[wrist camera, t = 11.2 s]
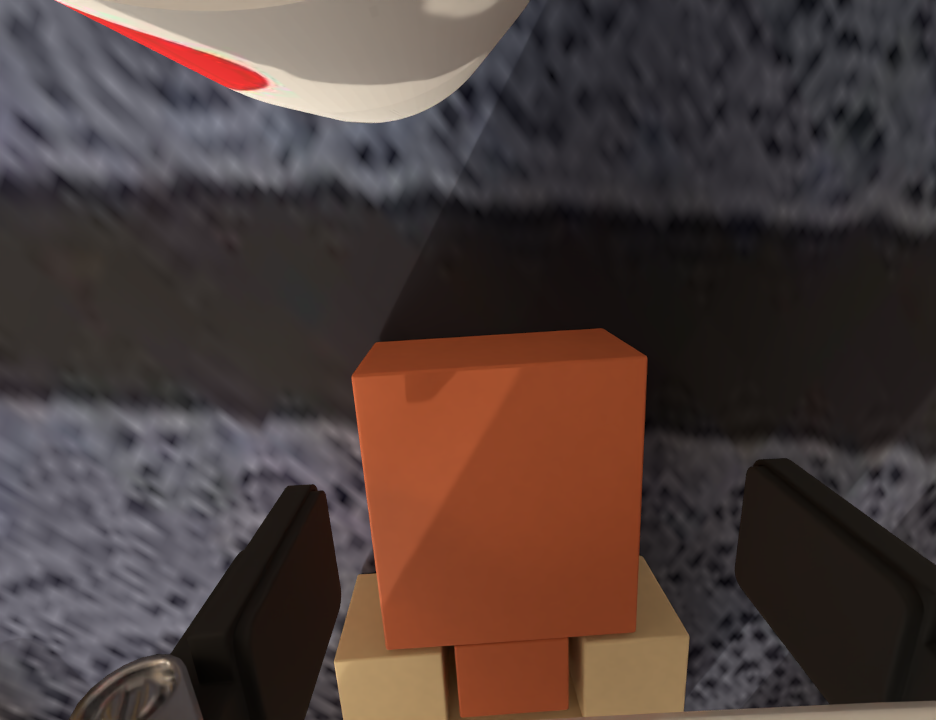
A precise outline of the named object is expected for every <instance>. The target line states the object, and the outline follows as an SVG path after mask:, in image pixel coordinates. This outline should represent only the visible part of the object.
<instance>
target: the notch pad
mask: <svg viewBox="0 0 936 720" xmlns="http://www.w3.org/2000/svg"><path fill="white" fill-rule="evenodd" d="M568 638H569V708H568V709H567V710H559V711H545V712H531V713H518V714H504V715H491V716H477V717H463V718H462V717H461V716H460V712H459V699H458V687H457V674H456V662H455V649H454V645H452V646H438V647H424V648H410V649H396V650H387V649H386V646H385V638H384V630H383V622H382V614H381V606H380V598H379V590H378V582H377V574H376V573H373V574H359V575H358V577H357V581H356V584H355V588H354V591H353V595H352V599H351V602H350V606H349V609H348V613H347V617H346V620H345V624H344V627H343V631H342V634H341V638H340V642H339V645H338V649H337V652H336V656H335V659H334V665H335V671H336V677H337V683H338V689H339V696H340V702H341V708H342V714H343V720H540V719H559V718H577V717H595V716H614V715H632V714H651V713H670V712H684V700H685V688H686V676H687V663H688V651H689V634H688V633H687V631H686V629H685V628H684V626H683V624H682V622H681V621H680V619H679V617H678V616H677V614H676V612H675V610H674V609H673V607H672V605H671V604H670V602H669V600H668V599H667V597H666V595H665V593H664V592H663V590H662V588H661V587H660V585H659V583H658V582H657V580H656V578H655V576H654V575H653V573H652V571H651V570H650V568H649V566H648V564H647V563H646V561H645V559H644V558H643V557H642V556H639V570H638V594H637V617H636V631H635V632H634V633H620V634H606V635H592V636H578V637H568Z"/></svg>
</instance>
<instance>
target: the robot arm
mask: <svg viewBox="0 0 936 720" xmlns="http://www.w3.org/2000/svg"><path fill="white" fill-rule="evenodd" d="M735 575H736V579H737V582H738V584H739V586H740V587H741V589H742V590H743V591H744V593H745V594H746V595H747V597H748V598H749V599H750V601H751V602H752V603H753V604H754V606H755V607H756V608H757V610H758V611H759V612H760V614H761V615H762V616H763V618H764V619H765V620H766V622H767V623H768V624H769V625H770V627H771V628H772V629H773V631H774V632H775V633H776V635H777V636H778V637H779V639H780V640H781V641H782V642H783V644H784V645H785V646H786V648H787V649H788V650H789V652H790V653H791V654H792V656H793V657H794V658H795V660H796V661H797V662H798V663H799V665H800V666H801V667H802V669H803V670H804V671H805V673H806V674H807V675H808V677H809V678H810V679H811V681H812V682H813V683H814V684H815V686H816V687H817V688H818V690H819V691H820V692H821V694H822V695H823V696H824V698H825V699H826V700H827V702H828V703H829V704H830V705H813V706H792V707H771V708H749V709H728V710H709V711H689V712H670V713H651V714H632V715H614V716H595V717H577V718H559V719H540V720H936V565H935V564H933V563H932V562H930V561H929V560H928V559H926V558H925V557H923V556H922V555H921V554H919V553H918V552H917V551H915V550H914V549H912V548H911V547H910V546H908V545H907V544H906V543H904V542H903V541H901V540H900V539H899V538H897V537H896V536H894V535H893V534H892V533H890V532H889V531H888V530H886V529H885V528H883V527H882V526H881V525H879V524H878V523H877V522H875V521H874V520H872V519H871V518H870V517H868V516H867V515H865V514H864V513H863V512H861V511H860V510H859V509H857V508H856V507H854V506H853V505H852V504H850V503H849V502H848V501H846V500H845V499H843V498H842V497H841V496H839V495H838V494H836V493H835V492H834V491H832V490H831V489H830V488H828V487H827V486H825V485H824V484H823V483H821V482H820V481H819V480H817V479H816V478H814V477H813V476H812V475H810V474H809V473H807V472H806V471H805V470H803V469H802V468H801V467H799V466H798V465H796V464H795V463H794V462H792V461H791V460H789V459H787V458H780V459H762V460H757V461H756V462H755V464H754V465H753V467H750V468H749V469H748V470H747V473H746V481H745V489H744V497H743V505H742V514H741V522H740V530H739V538H738V546H737V555H736V563H735ZM340 603H341V588H340V581H339V575H338V569H337V562H336V556H335V550H334V543H333V537H332V531H331V525H330V518H329V512H328V506H327V499H326V494H325V492H324V491H318V490H317V488H316V486H315V485H314V484H312V485H294V486H287V487H286V488H285V490H284V491H283V493H282V494H281V496H280V497H279V499H278V500H277V502H276V503H275V505H274V506H273V508H272V509H271V511H270V512H269V514H268V515H267V517H266V518H265V520H264V521H263V523H262V524H261V526H260V527H259V529H258V530H257V532H256V533H255V535H254V536H253V538H252V539H251V541H250V543H249V544H248V546H247V547H246V549H245V550H243V551H241V552H240V553H239V554H238V555H237V556H236V558H235V559H234V561H233V562H232V564H231V565H230V567H229V568H228V570H227V571H226V573H225V574H224V576H223V577H222V579H221V580H220V581H219V583H218V584H217V586H216V587H215V589H214V590H213V592H212V593H211V595H210V596H209V598H208V599H207V601H206V602H205V604H204V605H203V607H202V608H201V610H200V611H199V613H198V614H197V615H196V617H195V618H194V620H193V621H192V623H191V624H190V626H189V627H188V629H187V630H186V632H185V633H184V635H183V636H182V638H181V639H180V641H179V642H178V644H177V645H176V647H175V648H174V650H173V651H172V652H171V654H156V655H151V656H147V657H143V658H140V659H137V660H135V661H133V662H130V663H128V664H126V665H123V666H122V667H120V668H119V669H117V670H115V671H114V672H112V673H110V674H109V675H107V676H106V677H105V678H103V679H102V680H101V681H100V682H99V683H97V684H96V685H95V686H94V687H92V688H91V689H90V690H89V691H88V693H87V694H86V695H85V696H84V697H83V698H82V699H81V701H80V702H79V703H78V704H77V706H76V708H75V709H74V711H73V713H72V715H71V716H70V718H69V720H304V719H305V716H306V713H307V710H308V706H309V703H310V700H311V697H312V694H313V691H314V688H315V684H316V681H317V678H318V675H319V672H320V669H321V666H322V662H323V659H324V656H325V653H326V650H327V647H328V643H329V640H330V637H331V634H332V631H333V628H334V625H335V621H336V618H337V615H338V612H339V609H340Z"/></svg>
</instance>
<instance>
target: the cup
mask: <svg viewBox="0 0 936 720" xmlns="http://www.w3.org/2000/svg"><path fill="white" fill-rule="evenodd" d="M55 1H57V2H59V3H61V4H63V5H65V6H67V7H69V8H71V9H73V10H75V11H77V12H79V13H81V14H83V15H85V16H87V17H89V18H91V19H93V20H95V21H97V22H99V23H101V24H103V25H105V26H107V27H109V28H111V29H113V30H115V31H117V32H119V33H120V34H122V35H124V36H126V37H128V38H130V39H132V40H134V41H136V42H138V43H140V44H142V45H144V46H146V47H148V48H150V49H152V50H154V51H156V52H158V53H160V54H162V55H164V56H166V57H168V58H170V59H172V60H174V61H176V62H178V63H180V64H182V65H184V66H186V67H188V68H190V69H192V70H194V71H196V72H198V73H200V74H202V75H204V76H206V77H208V78H209V79H211V80H213V81H215V82H217V83H219V84H221V85H223V86H225V87H228V88H230V89H232V90H234V91H236V92H239V93H241V94H244V95H246V96H249V97H251V98H254V99H257V100H260V101H263V102H267V103H270V104H274V105H278V106H282V107H286V108H290V109H295V110H299V111H303V112H307V113H312V114H316V115H320V116H324V117H328V118H333V119H337V120H342V121H348V122H356V123H380V122H388V121H394V120H399V119H403V118H406V117H409V116H412V115H415V114H418V113H420V112H422V111H425V110H427V109H429V108H431V107H432V106H434V105H436V104H438V103H439V102H441V101H442V100H444V99H445V98H447V97H448V96H449V95H451V94H452V93H453V92H455V91H456V90H457V89H458V88H459V87H460V86H461V85H462V84H463V83H464V82H466V80H467V79H468V78H469V77H470V76H471V75H472V74H473V73H474V72H475V70H476V69H477V68H478V67H479V65H480V64H481V63H482V62H483V60H484V59H485V58H486V57H487V55H488V54H489V53H490V52H491V50H492V49H493V48H494V47H495V45H496V44H497V43H498V42H499V40H500V39H501V38H502V37H503V35H504V34H505V33H506V32H507V30H508V29H509V28H510V27H511V25H512V24H513V23H514V22H515V20H516V19H517V18H518V16H519V15H520V14H521V13H522V11H523V10H524V8H525V7H526V6H527V4H528V3H529V1H530V0H55Z"/></svg>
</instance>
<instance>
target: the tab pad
mask: <svg viewBox="0 0 936 720" xmlns="http://www.w3.org/2000/svg"><path fill="white" fill-rule="evenodd" d="M646 382H647V356H645V355H644V354H642V353H641V352H639V351H637V350H636V349H634V348H633V347H631V346H630V345H628V344H626V343H625V342H623V341H622V340H620V339H619V338H617V337H615V336H614V335H612V334H611V333H609V332H608V331H606V330H604V329H602V328H598V329H582V330H565V331H549V332H533V333H517V334H501V335H485V336H469V337H453V338H437V339H421V340H405V341H389V342H377V343H375V344H374V345H373V347H372V348H371V350H370V351H369V352H368V354H367V355H366V357H365V358H364V359H363V361H362V362H361V363H360V365H359V366H358V368H357V369H356V370H355V372H354V373H353V375H352V385H353V392H354V400H355V408H356V416H357V424H358V432H359V440H360V448H361V456H362V464H363V472H364V480H365V487H366V495H367V503H368V511H369V519H370V527H371V535H372V543H373V551H374V559H375V567H376V574H377V582H378V590H379V598H380V606H381V614H382V622H383V630H384V638H385V646H386V649H387V650H396V649H410V648H424V647H438V646H452V645H454V649H455V662H456V674H457V687H458V699H459V712H460V716H461V717H462V718H463V717H477V716H491V715H504V714H518V713H531V712H545V711H559V710H567V709H568V708H569V638H568V637H578V636H592V635H606V634H620V633H634V632H635V631H636V617H637V594H638V570H639V547H640V523H641V500H642V476H643V453H644V429H645V406H646Z"/></svg>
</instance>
